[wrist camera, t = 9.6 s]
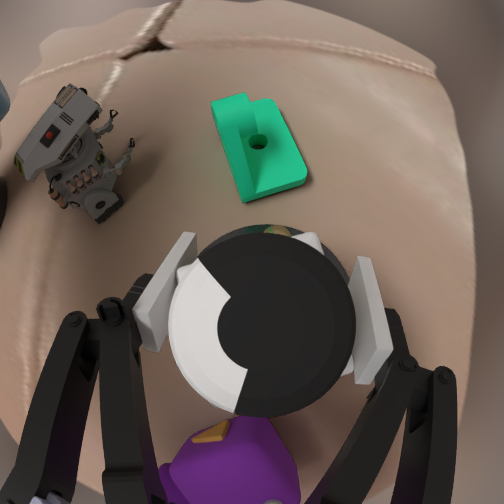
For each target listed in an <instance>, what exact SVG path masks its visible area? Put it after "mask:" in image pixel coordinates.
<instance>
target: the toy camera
mask: <svg viewBox="0 0 504 504" xmlns="http://www.w3.org/2000/svg"><path fill="white" fill-rule="evenodd" d="M158 471H159V476H160V480H161V482H162V485H163V487H164V489H165V492H166V495H167V498H168V502H172V503H176V504H300V502H301V492H300V485H299V479H298V473H297V468H296V464H295V462H294V460H293V458H292V456H291V455H290V453H289V451H288V450H287V448H286V447H285V445H284V443H283V442H282V440H281V439H280V437H279V435H278V434H277V432H276V431H275V429H274V427H273V426H272V424H271V423H270V421H269V420H268V418H267V417H264V418H257V417H247V416H242V415H240V416H238V417H235V418H233V419H230V420H228V419H227V420H225V421H223V422H221V423H219V424H217V425H215V426H212V427H210V428H207V429H205V430H202V431H199V432H197V433H195V434H193V435H192V436H191V437H190V438H189V439H188V440H187V441H186V442H185V444H184V445H183V446H182V448H181V449H180V451H179V452H178V454H177V455H176V457H175V458H174V460H173V461H172V463H164V464H162V465H161V466H160V468H159V470H158Z"/></svg>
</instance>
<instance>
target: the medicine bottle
mask: <svg viewBox="0 0 504 504" xmlns="http://www.w3.org/2000/svg"><path fill="white" fill-rule="evenodd" d="M176 278H177V283H178V286H177V287H176V290H175V292H174V295H173V298H172V301H171V306H170V311H169V320H168V331H169V341H170V345H171V349H172V353H173V356H174V358H175V361H176V364H177V365H178V367H179V369H180V371H181V373H182V374H183V376H184V377H185V379H186V380H187V381H188V383H189V384H190V385H191V386H192V387H193V388H194V389H195V390H196V391H197V392H198V393H199V394H200V395H201V396H202V397H204V398H205V399H206V400H208V401H209V403H210V405H211V406H212V407H214V408H221V409H224V410H226V411H229V412H231V413H234V414H238V415H242V416H247V417H257V418H264V417H276V416H282V415H286V414H289V413H292V412H295V411H298V410H300V409H302V408H304V407H306V406H309V405H310V404H312V403H313V402H315V401H316V400H318V399H319V398H321V397H322V396H323V395H324V394H325V393H326V392H327V391H328V390H330V389H331V387H332V386H333V385H334V384H335V383H336V381H337V380H338V379H339V378H340V377H341V376H344V375H347V374H350V373H351V372H353V370H354V361H353V357H352V350H353V347H354V343H355V335H356V314H355V308H354V303H353V299H352V296H351V293H350V290H349V288H348V286H347V284H346V282H345V280H344V278H343V277H342V275H341V274H340V272H339V271H338V269H337V268H336V267H335V266H334V265H333V264H332V263H331V261H330V260H329V259H328V258H327V257H325V256H324V253H323V250H322V246H321V243H320V240H319V237H318V235H317V234H316V233H315V232H307V233H303V234H299V235H296V236H292V237H289V236H285V235H281V234H274V233H251V234H243V235H240V236H236V237H233V238H230V239H227V240H225V241H223V242H220V243H218V244H217V245H215V246H213V247H212V248H210V249H208V250H207V251H206V252H204V253H203V254H202V255H201V256H199V257H198V258H197V259H196V260H195V261H194V262H193V263H192V264H190V265H186V266H183V267H180V268H179V269H177V271H176Z"/></svg>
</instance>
